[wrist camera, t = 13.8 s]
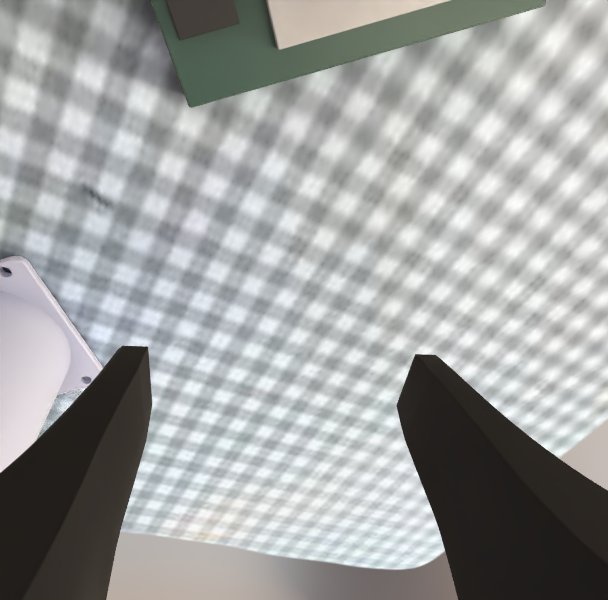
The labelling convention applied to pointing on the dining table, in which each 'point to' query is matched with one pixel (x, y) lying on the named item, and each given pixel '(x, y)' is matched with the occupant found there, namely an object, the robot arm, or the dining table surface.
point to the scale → (301, 36)
